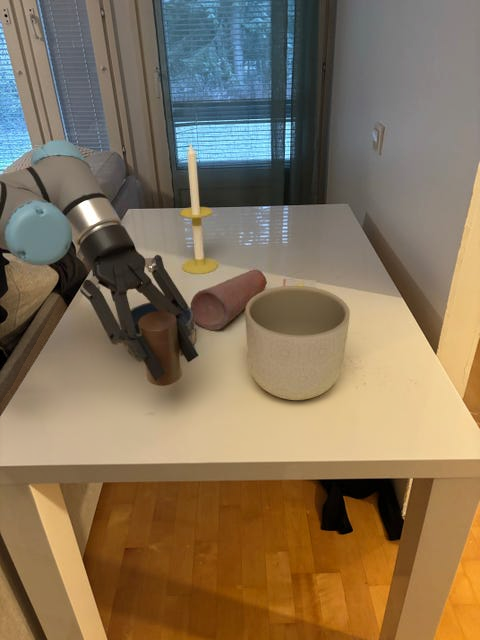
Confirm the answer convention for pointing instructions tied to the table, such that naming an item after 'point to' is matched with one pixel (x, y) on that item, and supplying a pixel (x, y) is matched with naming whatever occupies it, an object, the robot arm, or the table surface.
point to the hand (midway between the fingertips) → (177, 367)
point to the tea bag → (299, 282)
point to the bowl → (149, 308)
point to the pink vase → (226, 299)
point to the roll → (162, 345)
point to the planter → (296, 340)
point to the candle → (196, 222)
